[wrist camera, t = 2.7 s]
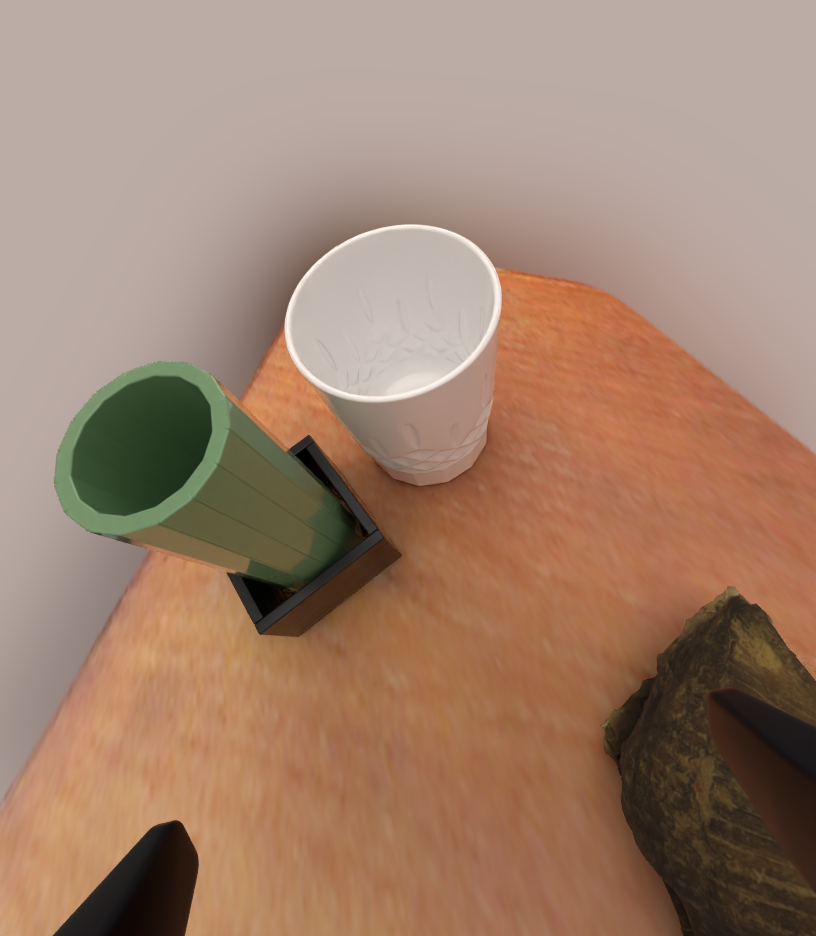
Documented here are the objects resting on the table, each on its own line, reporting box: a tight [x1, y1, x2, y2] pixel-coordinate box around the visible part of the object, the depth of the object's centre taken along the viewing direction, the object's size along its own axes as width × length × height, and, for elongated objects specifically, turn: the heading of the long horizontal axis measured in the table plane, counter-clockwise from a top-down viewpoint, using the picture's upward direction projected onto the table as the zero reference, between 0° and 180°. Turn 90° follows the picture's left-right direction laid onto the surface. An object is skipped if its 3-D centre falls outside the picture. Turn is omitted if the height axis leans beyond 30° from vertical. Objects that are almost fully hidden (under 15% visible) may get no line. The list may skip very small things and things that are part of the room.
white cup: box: [285, 225, 502, 486], centre depth 20 cm, size 8×8×10 cm
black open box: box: [227, 435, 402, 637], centre depth 22 cm, size 6×6×4 cm
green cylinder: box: [54, 361, 364, 592], centre depth 18 cm, size 5×5×13 cm
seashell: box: [600, 586, 816, 936], centre depth 14 cm, size 16×9×7 cm, turn 16°
